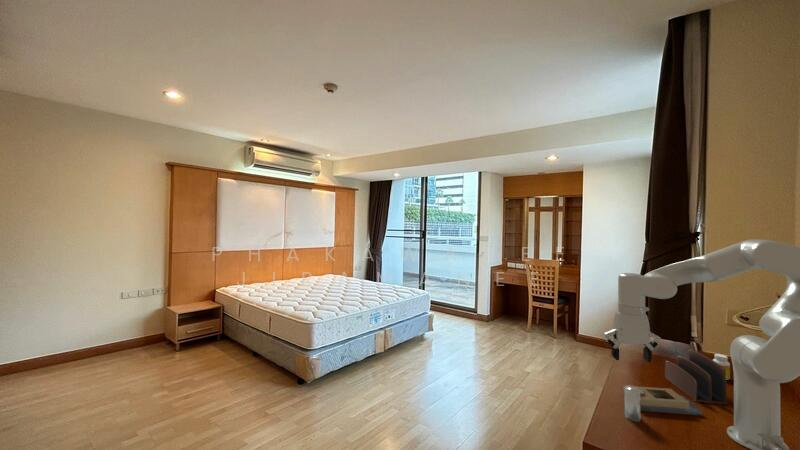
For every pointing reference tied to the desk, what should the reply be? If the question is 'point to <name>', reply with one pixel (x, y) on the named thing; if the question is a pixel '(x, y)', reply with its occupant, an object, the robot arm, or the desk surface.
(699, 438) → the desk surface
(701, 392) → the letter holder
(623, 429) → the desk surface
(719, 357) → the supplement bottle
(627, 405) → the steel pin
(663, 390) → the square hole plate
